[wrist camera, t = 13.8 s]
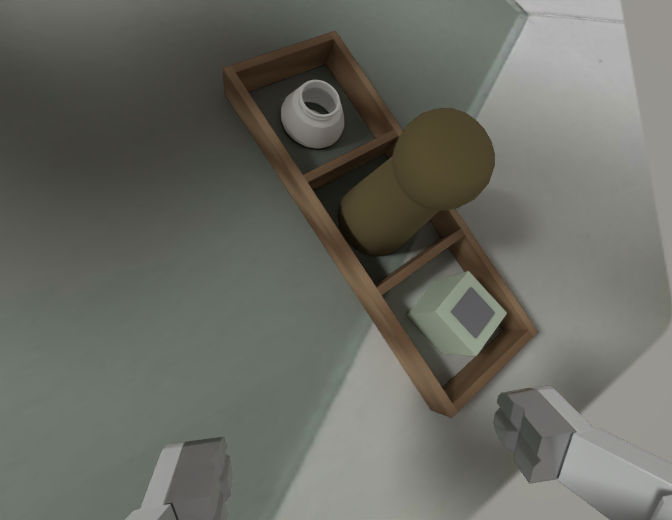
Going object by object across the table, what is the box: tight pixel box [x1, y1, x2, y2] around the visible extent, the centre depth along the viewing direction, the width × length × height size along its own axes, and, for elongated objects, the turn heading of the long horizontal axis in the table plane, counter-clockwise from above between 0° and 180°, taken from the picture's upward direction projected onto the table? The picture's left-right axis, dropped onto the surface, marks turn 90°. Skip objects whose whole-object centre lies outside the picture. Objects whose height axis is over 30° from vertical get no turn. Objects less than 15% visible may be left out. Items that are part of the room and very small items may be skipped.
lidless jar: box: [281, 80, 344, 149], centre depth 25 cm, size 5×3×5 cm
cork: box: [338, 108, 495, 257], centre depth 21 cm, size 6×6×11 cm
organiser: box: [223, 31, 538, 418], centre depth 25 cm, size 28×10×2 cm, turn 34°
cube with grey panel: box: [406, 271, 507, 356], centre depth 24 cm, size 4×4×4 cm
